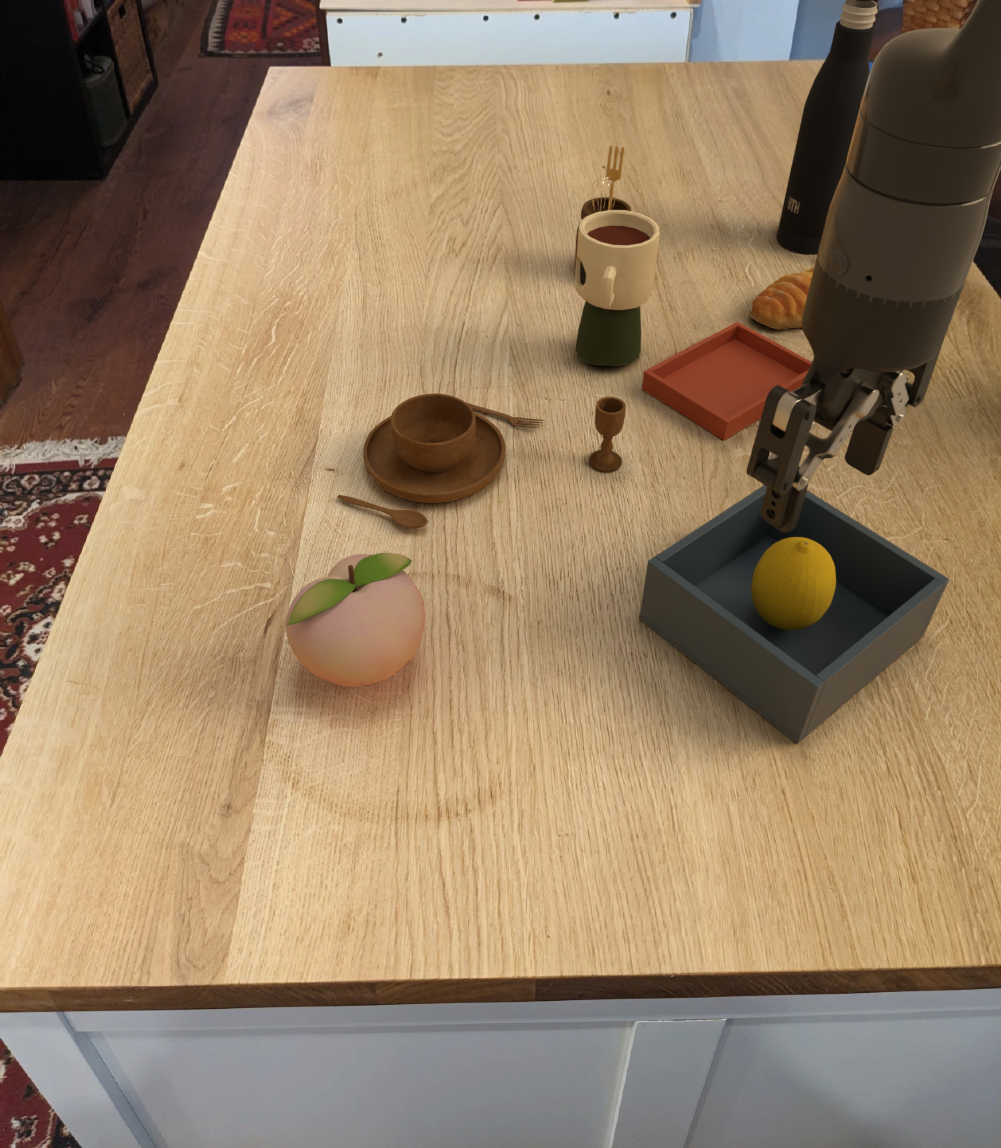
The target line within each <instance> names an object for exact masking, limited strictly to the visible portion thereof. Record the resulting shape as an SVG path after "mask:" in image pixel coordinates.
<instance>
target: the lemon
mask: <svg viewBox="0 0 1001 1148" xmlns="http://www.w3.org/2000/svg"><path fill="white" fill-rule="evenodd" d="M835 587H836V573H835V565H834V562H833V560H832V558H831V556H830V554H829V553H828V552H827V551H826V549H825V548H824V547H822V546H821V545H820V544H819V543H817V542H815V541H813V540H810V539H807V538H802V537H791V538H786V539H783V540H780V541H778V542H776V543H775V544H773V545H772V546H771V547H770V548H769V549H768V550H766V552H765V553H764V554H763V556H762V557H761V559H760V561H759V562H758V564H757V566H756V568H755V570H754V573H753V578H752V584H751V594H752V600H753V604H754V606H755V608H756V610H757V612H758V614H759V615H760V616H761V617H762V618H763V619H764V620H765V621H766V622H767V623H769V624H770V625H772V626H774V627H776V628H779V629H783V630H800V629H803V628H806V627H809V626H811V625H812V624H814V623H815V622H817V621H818V620H819V619H820V618H821V617H822V616H823V615H824V613H825V612H826V611H827V609H828V608H829V606H830V604H831V602H832V599H833V595H834V592H835Z"/></svg>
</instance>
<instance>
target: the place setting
mask: <svg viewBox="0 0 1001 1148" xmlns="http://www.w3.org/2000/svg"><path fill="white" fill-rule="evenodd" d="M626 408H627V405H626V402H625V401H624V400H622V398H620V397H616V396H604V397H601V398H599V399H598V400H597V401H596V403H595V408H594V409H595V410H594V426H595V430H596V431H597V433H598V434H599V435H601V436H602V441H601V443H600V449H599V450H595V451H593V452H592V453H591V454H590V455H589V457H588V463H589V465H590V467H591V468H592V469H594V470H595V471H598V472H602V473H613V472H615V471H617V470H618V469H620V467H621V466H622V464H623V459H622V457H621V455H620V454H619V453H618V452H615V451H614V450H613V449H614V444H613V438H614V437H616V436H618V435H619V434H620V433H621V431H622V430H623V428H624V424H625V419H626ZM393 409H394V410H393V411H392V413H391V415H390V416H388V417H386V418H384V419H383V420H382V421H381V422H379V423H377V424H376V425H375V426H374V427H373V428H372V430H371V431H369V433H368V435H367V437H365V441H364V444H363V449H362V457H363V461H364V466H365V469H366V470H367V473H368V475H369V476H370V477H371V479H372V480H373V481H374V482H375V483H376V484H377V485H378V487H380V488H382V489H383V490H384V491H386V492H388V493H389V494H391V495H393V496H396V497H397V498H400V499H403V500H407V501H411V502H416V503H425V504H441V503H449V502H454V501H459V500H462V499H465V498H468V497H471V496H473V495H475V494H477V493H479V492H480V491H482V490H483V489H485V488H486V487H487V486H489V485H490V484H491V483H492V482H494V480H495V479H496V478H497V476H498V475H499V474H500V472H501V470H502V468H503V466H504V463H505V459H506V449H507V447H506V446H507V445H506V441H505V438H504V436H503V434H502V432H501V430H500V429H499V428H498V427H497V426H496V425H495V423H493V422H492V421H491V420H490V419H488V418H486V417H485V416H483V415H481V414H479V413H477V412H475V411H478V412H482V413H485V414H489V415H491V416H496V417H500V418H503V419H505V420H508V421H509V423H510V425H512V426H513V427H518V428H529V429H538V428H540V424H543V422H545V419H539V418H528V417H527V418H526V417H521V416H512V415H510V414H507V413H504V412H501V411H497V410H493V409H490V408H487V407H484V406H479V405H476V404H472V403H469V402H466V401H464V400H463V399H461V398H459V397H456V396H454V395H450V394H445V393H435V392H434V393H424V394H423V393H422V394H419V395H415V396H412V397H409V398H408V399H407V398H406V400H404V401H402V402H400V404H398V405H397V406H396V407H395V408H393ZM474 410H475V411H474ZM336 498H337V499H339V500H341V501H343V502H346V503H349V504H353V505H356V506H359V507H363V508H367V509H370V510H375V511H376V512H377V511H378V512H380V513H383V514H386V515H388V516H390V518H391V520H392V521H394V522H395V524H398V525H400V526H402V527H406V528H413V529H417V528H424V527H425V526H427V524H428V523H429V520H428V518H427V517H426V516H425V515H424V514H423V513H421V512H420V511H418V510H414V509H403V508H402V509H393V508H388V507H384V506H382V505H381V506H380V505H378V504H375V503H371V502H369V501H365V500H362V499H359V498H356V497H353V496H348V495H343V494H338V495H337V496H336Z"/></svg>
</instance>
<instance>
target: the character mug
mask: <svg viewBox="0 0 1001 1148" xmlns="http://www.w3.org/2000/svg"><path fill="white" fill-rule="evenodd" d="M580 221H581V220H580ZM580 221H579V223H580V224H579V223H578V225H579V231H578V245H577V259H576V268H575V277H574V287H575V291H576V293H577V294H578V296H580V298H581V299H582V300H583V301H585V302H584V305H583V308H582V312H581V317H580V321H579V324H578V330H577V334H576V341H575V347H574V351H575V353H576V355H577V358H579V359H580V360H582V361H583V362H584V363H586V364H588V365H595V366H602V367H603V366H607V367H608V366H609V367H614V366H615V367H619V366H624V365H629V364H632V363H634V362H635V361H636V360H638V359H639V358H640V355H641V351H642V315H641V314H642V313H641V312H642V311H641V306H642V305H645V304H647V303H648V301H649V300H650V298H651V297H652V296H653V291H654V284H655V276H656V268H657V259H658V252H659V245H660V244H659V243H660V226H659V224H657V222H655V220H654V219H652V217H649V216H646V215H645V214H642V213H640V212H636V211H632V210H631V211H626V210H608V211H602V212H596V213H594V214H591V215H589V216H586V217H585V218H584V219H583V220H582V221H581V222H580Z"/></svg>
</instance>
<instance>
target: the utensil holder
mask: <svg viewBox="0 0 1001 1148" xmlns="http://www.w3.org/2000/svg"><path fill="white" fill-rule="evenodd" d="M612 153H613V145H609V148H608V155H607V163H606V171H605V176H604V177H603V176H599V178H597V179H596V181H594V182H593V183H592V187H591V188H592V189H591V193H595V191H596V189H598V188H599V183H600V182H601V181H602V180H603V181H602V185H601V188H603V186H604V181H605V183H606V185H607V186H608V191H609V194H608V195H609V196H607V191H605V195H604V196H602V195H603V190H600V191H601V192H600V197H598V196H596V197H593V198H590V199H588V200H587V201H585V202H584V203H583V204H582V208H581V210H580V211H581V212H580V219H581V220H580V221H579V223H578V226H577V229H576V235H575V248H574V266H575V267H574V268H575V269H576V259H577V245H578V231H579V224H580V222H581V221H582V220H583V219H584V218H585V217H586V216H589V215H591V214H594V213H596V212H602V211H608V210H626V211H631V212H632V207H631V206H630V204H629V203H628V202H626V201H625V200H623V199H619V198H616V197H614V190H615V189H616V187H615V182H617V181H619V180H620V179H621V178H622V171H623V163H624V162H623V161H624V155H625V147H624V146H622V147H621V148H620V154H619V146H615V148H614V155H613V154H612ZM618 154H619V155H620V156H619V163H618V164H617V162H618ZM612 155H613V164H612V169H611V163H612ZM617 165H618V169H617ZM607 180H608V181H609V182H610V185H609V183H608V181H607ZM595 183H596V185H595ZM594 185H595V187H594Z"/></svg>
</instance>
